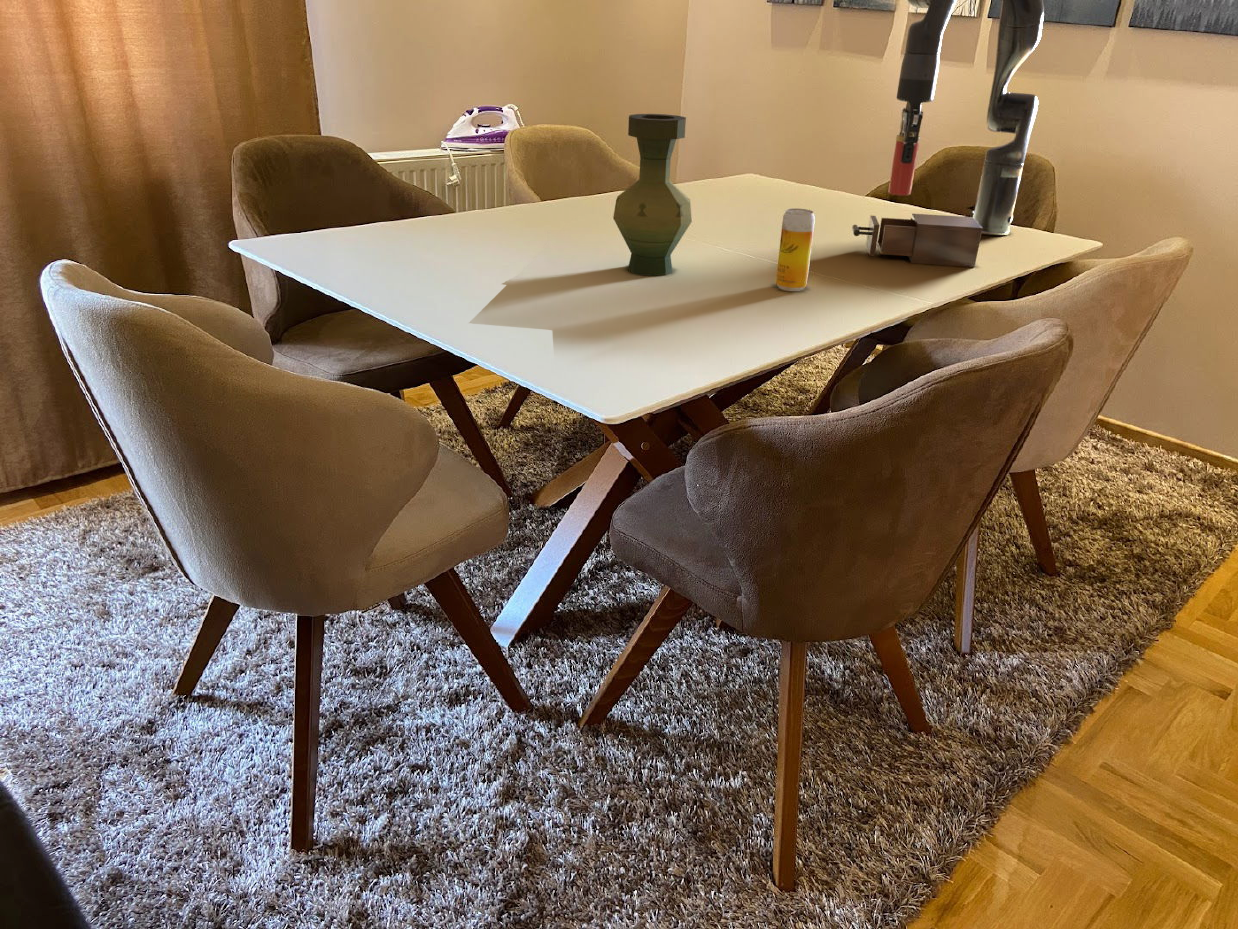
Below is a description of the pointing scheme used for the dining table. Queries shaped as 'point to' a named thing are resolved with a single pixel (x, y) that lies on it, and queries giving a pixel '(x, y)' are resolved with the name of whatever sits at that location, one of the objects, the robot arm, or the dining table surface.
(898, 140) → the tea tin
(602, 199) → the dining table surface
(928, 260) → the cabinet
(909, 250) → the drawer
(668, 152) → the vase
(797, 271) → the beer can
